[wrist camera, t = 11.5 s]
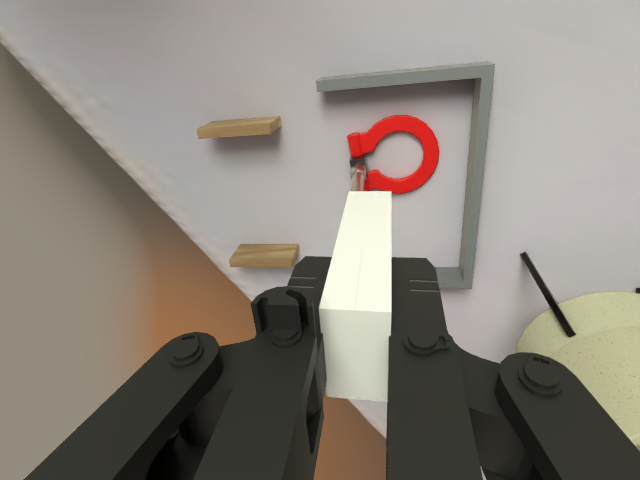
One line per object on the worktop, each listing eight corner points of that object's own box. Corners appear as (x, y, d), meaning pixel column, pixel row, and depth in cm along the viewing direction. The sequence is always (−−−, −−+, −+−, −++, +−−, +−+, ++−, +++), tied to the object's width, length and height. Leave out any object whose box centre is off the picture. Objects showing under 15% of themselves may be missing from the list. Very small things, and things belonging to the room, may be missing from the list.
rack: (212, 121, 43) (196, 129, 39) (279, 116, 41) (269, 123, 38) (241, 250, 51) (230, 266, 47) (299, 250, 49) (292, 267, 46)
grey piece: (321, 77, 39) (316, 80, 36) (487, 61, 36) (494, 64, 33) (339, 273, 50) (336, 286, 47) (467, 274, 47) (471, 288, 44)
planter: (587, 213, 41) (772, 385, 21) (660, 305, 44) (877, 526, 25) (466, 286, 48) (519, 468, 28) (538, 361, 51) (631, 569, 31)
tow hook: (433, 105, 39) (344, 125, 41) (458, 134, 28) (334, 160, 29) (440, 182, 42) (359, 197, 44) (466, 235, 31) (355, 252, 33)
